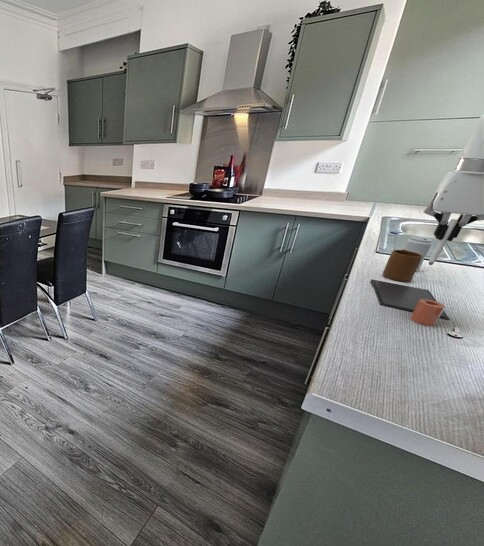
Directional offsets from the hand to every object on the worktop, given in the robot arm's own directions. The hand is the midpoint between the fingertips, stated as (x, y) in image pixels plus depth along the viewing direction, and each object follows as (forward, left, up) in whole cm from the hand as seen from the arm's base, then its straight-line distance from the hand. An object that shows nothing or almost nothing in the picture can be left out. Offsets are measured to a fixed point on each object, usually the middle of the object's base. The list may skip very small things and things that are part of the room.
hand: (443, 238), depth 83 cm
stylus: (0, 0, -8) cm, 8 cm away
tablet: (0, -7, -21) cm, 22 cm away
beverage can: (-6, -43, -21) cm, 48 cm away
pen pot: (-1, +9, -21) cm, 23 cm away
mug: (-1, -30, -21) cm, 36 cm away
